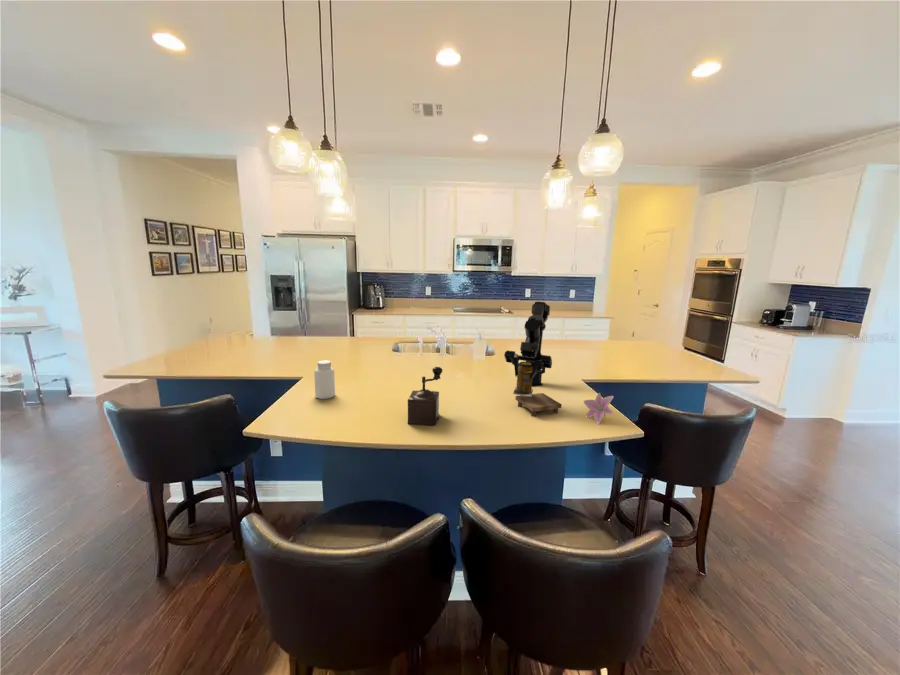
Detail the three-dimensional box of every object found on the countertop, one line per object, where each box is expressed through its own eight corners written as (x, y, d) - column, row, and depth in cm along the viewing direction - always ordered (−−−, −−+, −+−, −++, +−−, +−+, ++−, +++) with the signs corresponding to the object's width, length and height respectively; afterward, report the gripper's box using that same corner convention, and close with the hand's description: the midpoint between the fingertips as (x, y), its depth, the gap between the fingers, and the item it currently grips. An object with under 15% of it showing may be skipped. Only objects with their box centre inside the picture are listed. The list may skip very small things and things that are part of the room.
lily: (581, 413, 149) (576, 396, 145) (610, 403, 148) (606, 386, 143) (593, 434, 139) (589, 416, 134) (624, 424, 138) (621, 406, 133)
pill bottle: (339, 394, 159) (338, 360, 156) (325, 400, 152) (324, 365, 149) (325, 391, 162) (323, 358, 159) (311, 397, 155) (309, 362, 152)
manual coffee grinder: (437, 426, 131) (438, 378, 128) (406, 424, 132) (407, 376, 129) (442, 409, 147) (443, 365, 143) (414, 407, 147) (415, 364, 144)
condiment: (533, 389, 152) (535, 361, 150) (531, 397, 145) (533, 367, 142) (515, 387, 154) (517, 359, 152) (512, 394, 146) (514, 365, 144)
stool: (541, 401, 157) (542, 392, 156) (560, 413, 145) (561, 404, 144) (514, 405, 153) (515, 396, 152) (532, 417, 141) (532, 407, 140)
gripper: (506, 331, 152) (497, 364, 144) (553, 336, 144) (545, 371, 137) (510, 345, 160) (502, 377, 153) (554, 351, 153) (547, 384, 145)
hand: (523, 377), depth 147 cm, fingers closed on condiment, 6 cm apart
